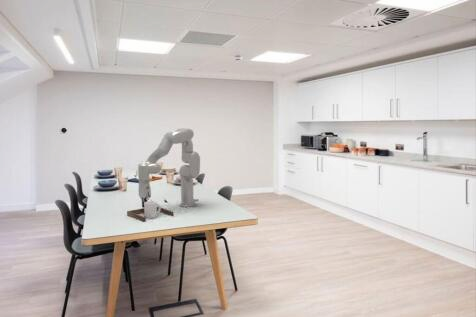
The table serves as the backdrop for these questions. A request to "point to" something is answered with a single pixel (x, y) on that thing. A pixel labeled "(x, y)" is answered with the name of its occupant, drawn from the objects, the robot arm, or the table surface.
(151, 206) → the mug
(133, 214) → the open wooden rail frame
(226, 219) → the table surface
